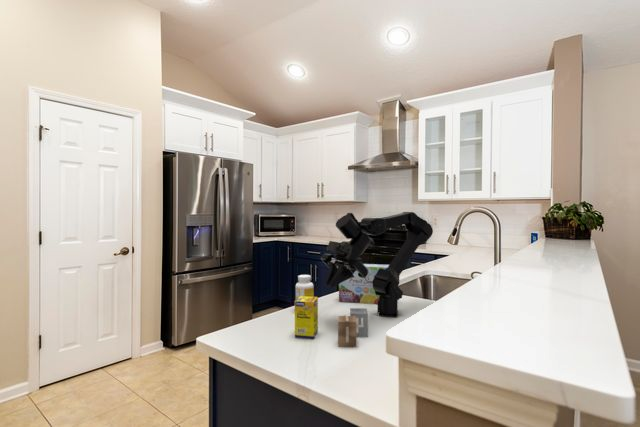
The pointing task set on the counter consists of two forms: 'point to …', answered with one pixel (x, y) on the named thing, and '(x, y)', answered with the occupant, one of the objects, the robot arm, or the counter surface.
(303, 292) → the supplement bottle
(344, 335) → the walnut block
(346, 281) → the snack box
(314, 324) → the supplement box
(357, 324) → the slate block
